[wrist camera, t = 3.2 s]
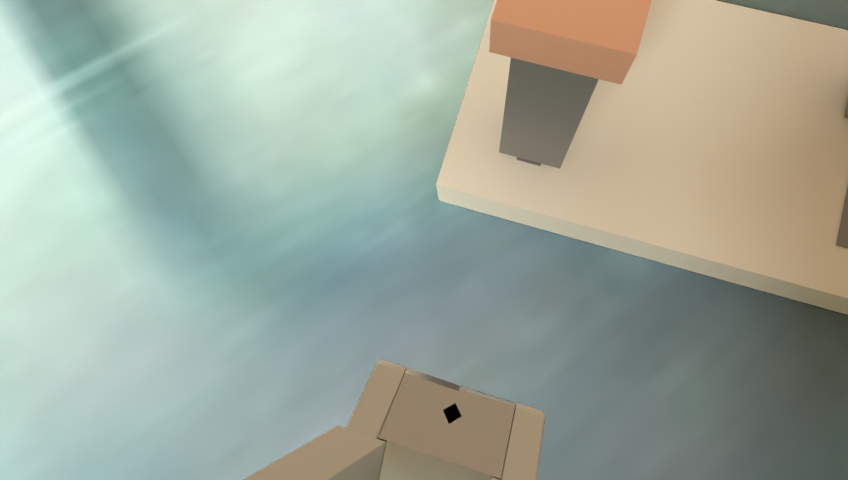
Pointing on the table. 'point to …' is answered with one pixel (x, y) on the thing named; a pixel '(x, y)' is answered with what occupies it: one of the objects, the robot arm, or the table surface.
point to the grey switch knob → (847, 113)
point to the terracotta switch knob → (559, 66)
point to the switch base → (688, 152)
